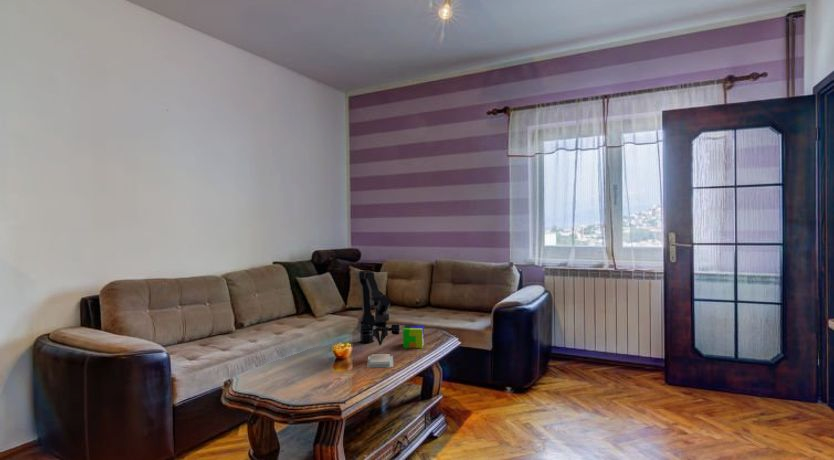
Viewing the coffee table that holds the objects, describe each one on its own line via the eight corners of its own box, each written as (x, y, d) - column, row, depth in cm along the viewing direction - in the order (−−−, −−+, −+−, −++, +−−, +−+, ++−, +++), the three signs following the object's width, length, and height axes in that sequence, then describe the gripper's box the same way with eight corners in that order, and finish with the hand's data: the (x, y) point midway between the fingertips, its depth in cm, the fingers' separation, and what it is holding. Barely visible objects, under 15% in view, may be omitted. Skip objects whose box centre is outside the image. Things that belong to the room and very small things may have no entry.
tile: (371, 354, 220) (370, 362, 208) (389, 354, 220) (389, 361, 208) (371, 358, 220) (370, 366, 208) (389, 358, 220) (389, 366, 208)
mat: (368, 357, 224) (368, 356, 224) (392, 356, 225) (392, 355, 225) (366, 368, 207) (366, 367, 207) (393, 367, 208) (393, 366, 208)
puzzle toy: (423, 343, 249) (423, 325, 249) (422, 348, 239) (421, 329, 239) (405, 343, 250) (405, 325, 250) (403, 348, 240) (403, 329, 240)
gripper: (361, 308, 221) (359, 336, 211) (399, 307, 222) (399, 335, 212) (362, 320, 229) (360, 348, 219) (399, 320, 230) (399, 347, 220)
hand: (380, 345), depth 217 cm, fingers closed
